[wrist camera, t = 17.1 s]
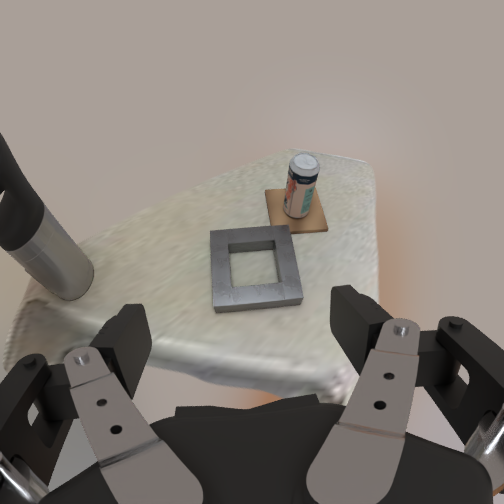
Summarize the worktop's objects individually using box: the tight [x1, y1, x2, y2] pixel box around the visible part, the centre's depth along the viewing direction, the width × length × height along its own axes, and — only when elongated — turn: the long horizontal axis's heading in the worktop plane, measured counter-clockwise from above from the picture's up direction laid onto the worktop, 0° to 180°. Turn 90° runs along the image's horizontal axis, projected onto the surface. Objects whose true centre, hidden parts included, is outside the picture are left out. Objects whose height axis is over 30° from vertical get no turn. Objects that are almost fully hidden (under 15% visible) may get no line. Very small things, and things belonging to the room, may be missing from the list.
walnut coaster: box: [265, 188, 328, 234], centre depth 53 cm, size 10×10×1 cm
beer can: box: [283, 153, 320, 218], centre depth 47 cm, size 5×5×12 cm
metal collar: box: [210, 224, 303, 313], centre depth 46 cm, size 13×13×3 cm
